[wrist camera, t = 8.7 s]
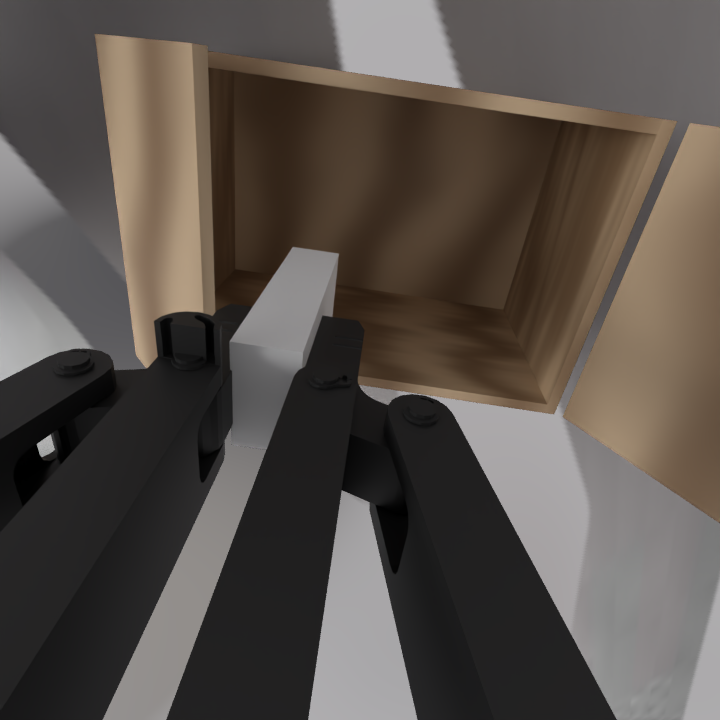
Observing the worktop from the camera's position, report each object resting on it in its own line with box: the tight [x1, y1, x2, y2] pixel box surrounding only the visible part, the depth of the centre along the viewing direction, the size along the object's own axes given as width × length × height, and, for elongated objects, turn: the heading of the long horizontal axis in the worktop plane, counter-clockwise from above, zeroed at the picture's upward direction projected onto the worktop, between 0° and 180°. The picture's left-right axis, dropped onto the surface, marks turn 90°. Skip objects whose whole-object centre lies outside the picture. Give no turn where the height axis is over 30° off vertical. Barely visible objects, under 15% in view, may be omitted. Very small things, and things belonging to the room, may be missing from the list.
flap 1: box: [95, 34, 215, 368], centre depth 17 cm, size 8×13×1 cm
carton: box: [208, 51, 677, 414], centre depth 25 cm, size 20×13×12 cm, turn 83°
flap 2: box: [563, 123, 720, 523], centre depth 17 cm, size 8×13×1 cm
